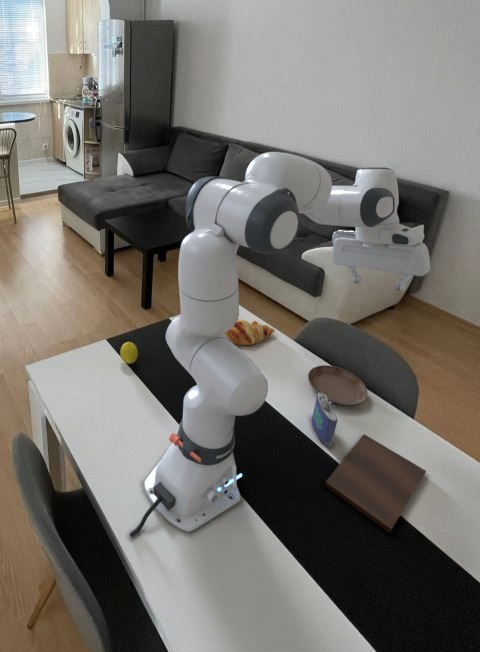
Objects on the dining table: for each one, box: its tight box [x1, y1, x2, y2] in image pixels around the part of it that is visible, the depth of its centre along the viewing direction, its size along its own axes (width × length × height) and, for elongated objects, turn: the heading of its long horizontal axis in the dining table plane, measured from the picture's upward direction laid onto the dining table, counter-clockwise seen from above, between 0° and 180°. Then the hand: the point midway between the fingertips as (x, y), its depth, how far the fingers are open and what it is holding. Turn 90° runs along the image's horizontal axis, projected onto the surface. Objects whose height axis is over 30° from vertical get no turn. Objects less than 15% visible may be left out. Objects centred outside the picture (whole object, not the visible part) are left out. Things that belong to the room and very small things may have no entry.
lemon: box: [120, 341, 139, 365], centre depth 137 cm, size 6×6×8 cm
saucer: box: [307, 364, 369, 407], centre depth 122 cm, size 15×15×3 cm
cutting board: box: [324, 433, 427, 534], centre depth 97 cm, size 20×13×2 cm, turn 127°
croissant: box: [224, 318, 276, 346], centre depth 145 cm, size 21×10×8 cm, turn 97°
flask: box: [311, 393, 339, 448], centre depth 108 cm, size 9×3×11 cm, turn 172°
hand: (378, 286), depth 106 cm, fingers open, 8 cm apart
